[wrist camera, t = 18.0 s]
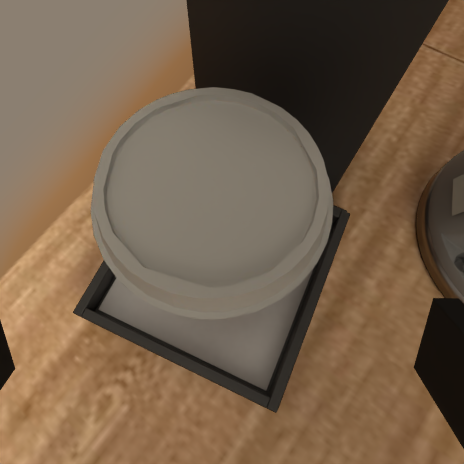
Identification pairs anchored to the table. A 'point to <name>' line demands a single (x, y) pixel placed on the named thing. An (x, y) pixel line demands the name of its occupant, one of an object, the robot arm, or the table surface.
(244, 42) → the coffee machine
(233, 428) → the table surface
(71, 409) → the table surface
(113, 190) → the disposable coffee cup
